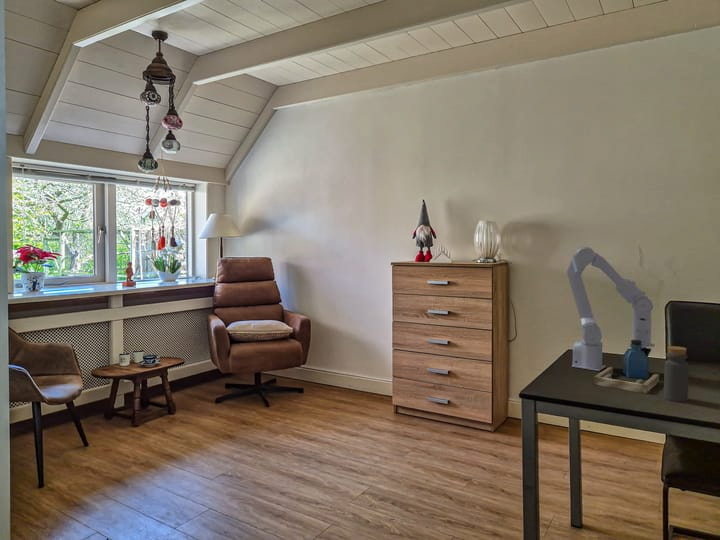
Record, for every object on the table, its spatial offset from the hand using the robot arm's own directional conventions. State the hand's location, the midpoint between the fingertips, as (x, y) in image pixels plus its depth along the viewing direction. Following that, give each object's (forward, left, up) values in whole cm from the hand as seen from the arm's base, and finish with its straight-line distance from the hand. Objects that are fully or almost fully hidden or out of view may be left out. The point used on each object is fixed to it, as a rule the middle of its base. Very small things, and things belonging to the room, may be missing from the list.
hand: (640, 368), depth 174 cm
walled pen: (0, -18, -1) cm, 18 cm away
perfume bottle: (0, -6, -1) cm, 6 cm away
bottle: (+15, -27, -1) cm, 31 cm away
